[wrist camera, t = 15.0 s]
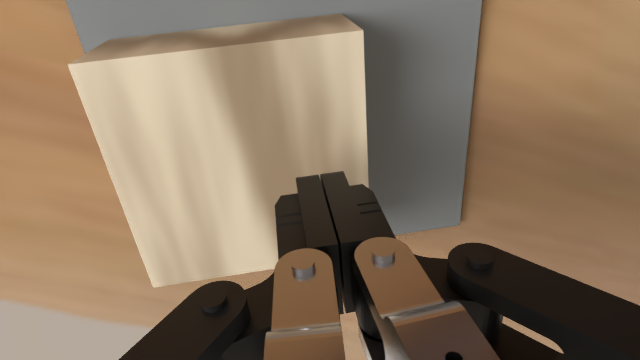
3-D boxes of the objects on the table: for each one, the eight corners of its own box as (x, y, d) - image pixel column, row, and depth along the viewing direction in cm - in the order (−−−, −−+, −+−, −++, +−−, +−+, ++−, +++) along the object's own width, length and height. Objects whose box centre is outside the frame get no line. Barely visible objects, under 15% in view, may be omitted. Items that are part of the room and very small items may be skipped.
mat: (483, -74, 16) (489, -75, 16) (455, 219, 23) (459, 225, 23) (60, -33, 15) (54, -33, 15) (163, 264, 22) (162, 270, 22)
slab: (363, 30, 13) (67, 64, 12) (370, 253, 17) (153, 287, 17) (340, 13, 17) (109, 38, 16) (351, 202, 21) (171, 228, 20)
